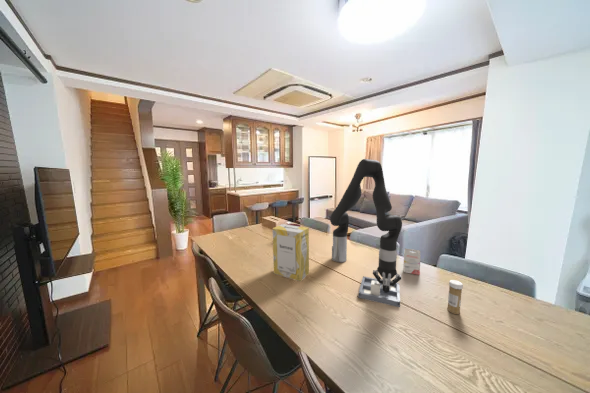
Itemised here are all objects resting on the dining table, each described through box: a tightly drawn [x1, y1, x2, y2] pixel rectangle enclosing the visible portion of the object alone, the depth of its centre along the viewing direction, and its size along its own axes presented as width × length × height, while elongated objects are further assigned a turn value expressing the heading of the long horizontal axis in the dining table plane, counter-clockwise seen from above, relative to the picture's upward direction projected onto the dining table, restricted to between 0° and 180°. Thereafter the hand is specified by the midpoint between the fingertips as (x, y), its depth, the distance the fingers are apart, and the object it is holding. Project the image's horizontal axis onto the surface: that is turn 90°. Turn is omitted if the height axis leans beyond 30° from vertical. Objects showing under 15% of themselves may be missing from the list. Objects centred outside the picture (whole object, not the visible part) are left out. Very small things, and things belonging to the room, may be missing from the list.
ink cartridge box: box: [402, 248, 421, 276], centre depth 126 cm, size 9×5×15 cm, turn 62°
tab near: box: [371, 280, 380, 296], centre depth 103 cm, size 4×4×6 cm
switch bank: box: [357, 276, 401, 308], centre depth 106 cm, size 18×17×2 cm
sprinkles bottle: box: [446, 279, 464, 315], centre depth 91 cm, size 5×5×14 cm
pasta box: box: [272, 223, 310, 282], centre depth 125 cm, size 18×10×28 cm, turn 60°
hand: (385, 291), depth 101 cm, fingers closed
